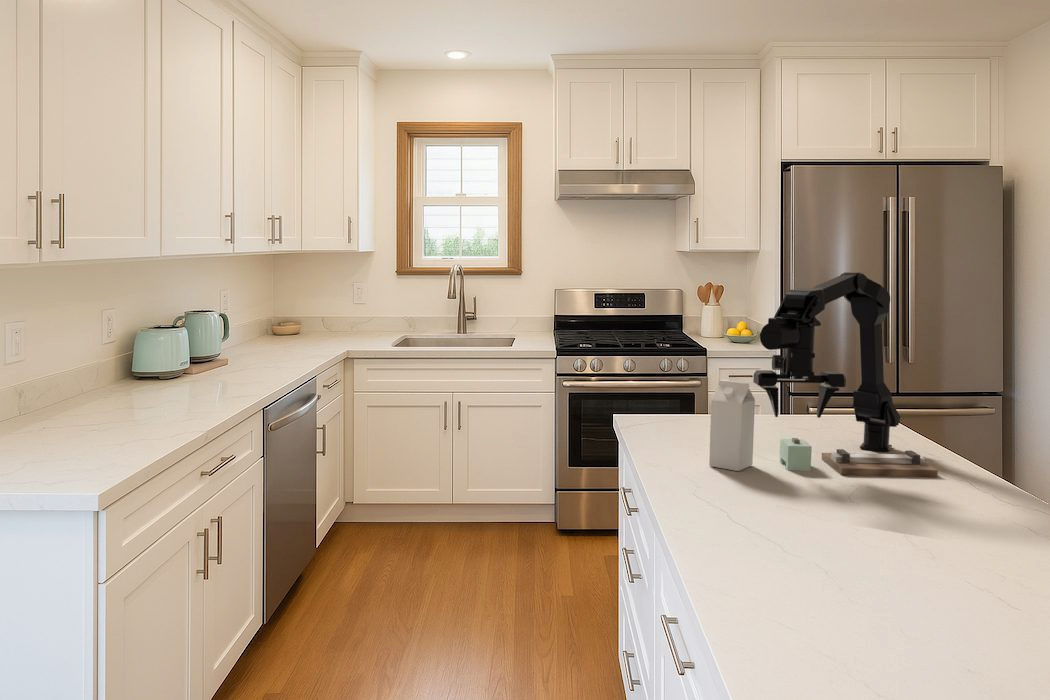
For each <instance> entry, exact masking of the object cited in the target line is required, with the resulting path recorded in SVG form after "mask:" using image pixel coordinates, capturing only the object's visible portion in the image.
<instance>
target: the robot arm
mask: <svg viewBox="0 0 1050 700" xmlns="http://www.w3.org/2000/svg"><path fill="white" fill-rule="evenodd" d="M842 297H843V298H844V299H845V300H846V301H847V302H848V303H849V304H850V310H851V314H852V317H854V319H855V320H856V322H857V324H858V327H859V328H858V329H859V349H860V350H859V351H860V353H859V354H860V356H859V357H860V376H861V378H860V379H861V384H859V386H858V388H857V390H854V391H853V393H852V399H853V400H852V401H853V404H852V407H853V410H854V415H855V416H854V417H855V421H856V422H857V423H858V422H860V423H864V428H863V442H862V443H861V444H860V446H859V449H862V450H869V451H881V452H890V450H891V449H892V447H893V445H892V444H890V434H891V433H890V431H891V429H890V428H891V427H894V428H896V427H897V426H899V425H900V422H901V415H900V413H899V412H898V410H897V409H896V406H895V404H894V403H893V397H892V396H893V395H892V392H891V391H890V389H889V387H888V386H887V384H886V383H885V381H884V380H885V378H884V348H883V347H884V346H883V345H884V344H883V343H884V341H883V323H884V321H885V319H886V317H887V316H888V315H889V313H890V305H891V304H890V303H891V294H890V293H889V291H888V290H887V289H886V288H885V287H883V286H882V285H881V284H879V283H878V282H877V281H876V282H875V281H874V280H872V279H870V278H869V277H867V276H866V275H865V274H864V273H862V272H857V271H856V272H855V271H854V272H853V271H852V272H851V271H850V272H849V271H846V272H843V273H840V275H838V276H835V277H833V278H831V279H829V280H826V281H824V282H822V283H819V284H817V285H815V286H813V287H802V288H794V289H789V290H788V291H786V292H785V296H784V297H783V299H782V301H781V302H780V305H779V306H778V308H777V311H776V313H775V314H774V316H773V317H769V318H768V321H767V323H766V324H765V325H764V326H763V327H762V328H761V331H760V332H759V340H760V343H761V345H762V346H763V347H764V348H765V349H766V350H769V351H775V350H785V353H784V357H783V355H781V354H772V356H771V370H770V369H769V370H768V369H767V370H765V369H763V370H762V369H761V370H760V369H759V370H758V369H756V370H755V371H754V373H753V380H752V382H753V383H754V384H756V385H757V386H758V387H760V388H762V389H763V390H764V391H765V392H766V394H767V396H768V398H769V401H770V402H769V403H770V405H771V408H772V412H773V414H774V417H775V418H778V416H779V388H778V386H777V384H778V383H791V384H792V383H793V384H794V383H797V384H799V383H801V384H803V383H804V384H806V383H807V384H817V385H818V398H817V407H816V417H817V418H819V419H820V418H821V417H822V415H823V412H824V411H825V409H826V407H827V405H828V403H829V401H830V399H831V398H832V396H833V395H834V393H835V392H839V391H840V388H846V386H847V385H846V384H847V378H846V376H845V374H843V372H839V371H837V370H821V371H820V373H819V374H815V371H814V359H815V358H816V353H815V335H816V334H815V332H816V331H815V330H816V327H821V324H822V322H821V321H820V320H819V319H817V318H816V317H817V316H818V315H819V314H821V313H822V312H823V311H824V310H825V309H826V305H828V304H829V303H832V302H834V301H836V300H838V299H840V298H842ZM775 371H779V372H780V373H779V374H778V373H777V372H775Z"/></svg>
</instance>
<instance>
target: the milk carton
mask: <svg viewBox="0 0 1050 700" xmlns="http://www.w3.org/2000/svg"><path fill="white" fill-rule="evenodd" d="M710 401H711V402H710V426H709V427H710V428H709V430H710V433H709V434H710V435H709V466H710V467H713V468H718V469H723V470H724V469H726V470H730V471H735V472H741V471H742V470H744V469H747V468H749V467H752V465H753V459H754V458H753V457H754V456H753V455H754V436H755V433H754V431H755V409H756V408H755V406H756V403H755V402H756V399H755V397H754V395H753V393H752V391H751V390H750V383H749V382H748V383H747V382H736V381H728V380H718V385H717V388H716V390H715V392H714V394H713V395H712V398H711V400H710Z"/></svg>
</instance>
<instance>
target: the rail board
mask: <svg viewBox="0 0 1050 700" xmlns="http://www.w3.org/2000/svg"><path fill="white" fill-rule="evenodd" d="M821 460H822V461H823V462H824V463H826V464H827V465H828V466H829V467H831V468H832V469H833V470H834V471H836V473H838V474H839V475H840V476H861V477H862V476H866V477H869V476H870V477H871V476H872V477H873V476H874V477H906V478H907V477H913V478H914V477H915V478H916V477H920V478H925V477H926V478H938V473H939V472H938V471H939V470H938V469H936V468H935V467H933V466H931V465H929V464H928V463H926V457H924V456H921V454H918V453H917V452H915V451H913V450H905V451H904V453H862V452H861V453H858V452H857V453H856V452H854V453H853V452H852V453H850V452H848V451H847V450H845V449H842V448H841V449H840V448H836V452H821Z"/></svg>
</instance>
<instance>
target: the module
mask: <svg viewBox="0 0 1050 700" xmlns="http://www.w3.org/2000/svg"><path fill="white" fill-rule="evenodd" d="M779 444H780V445H779V459H778V460H779V464H781V465H784V464H785V470H786V471H808V470H811V468H812V451H813V450H812V445H811V444H809V442H807V441H806V440H804V439H802V438H798V437H792V438H780V441H779Z"/></svg>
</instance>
